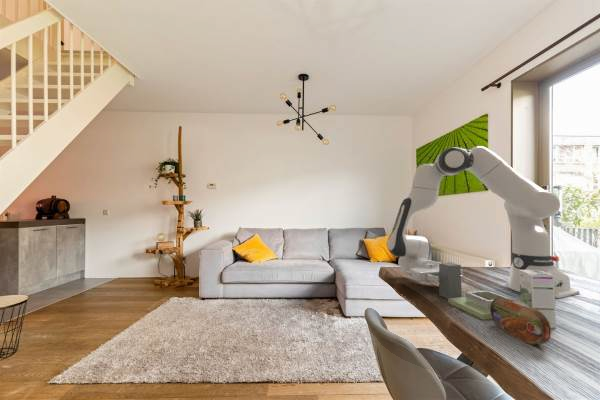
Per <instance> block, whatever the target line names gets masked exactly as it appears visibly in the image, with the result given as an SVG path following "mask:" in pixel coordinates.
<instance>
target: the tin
mask: <svg viewBox="0 0 600 400" xmlns="http://www.w3.org/2000/svg"><path fill="white" fill-rule="evenodd" d="M511 299H512V298H510V299H506V298H496V299H494V300H493V301H492V303H491V307H490V312H491V316H492V319H491V320H492V321H493V322H494V324H495V325H496V326H497V328H499V329H500V330H502V331H503V332H505V333H507V334H509V335H511V336H512V337H515V338H517V339H518V340H520V341H521V342H524V343H525V344H529V345H543V344H546V343H548V342H549V341H550V338H551V333H552V332H551V331H552V330H551V328H550V324H549V322H548V320H547V318H546V317H545V316H544V315H543V314H542V313H541V312H540V311H538V310H537V309H534V308H532V307H529V306H526V305H524V304H521V302H519V301H516V300H514V299H512V300H511Z"/></svg>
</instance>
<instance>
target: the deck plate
mask: <svg viewBox="0 0 600 400" xmlns="http://www.w3.org/2000/svg"><path fill="white" fill-rule="evenodd" d="M496 298H506V299H511V300H513V299H512V298H509V297H507V296H505V295H501V294H499V293H495V292H493V291H490V290H477V291H466V292H465V296H462V297H458V298H448V299H447V303H448V304H450V305H452V306H454V307H456V308H459V309H460V310H463V311H465V312H466V313H469V314H471V315H472V316H475V317H477V318H479V319H481V320H483V321H484V320H493V319H492V316H491V312H490V307H491V303H492V301H493V300H494V299H496Z"/></svg>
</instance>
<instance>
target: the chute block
mask: <svg viewBox="0 0 600 400" xmlns="http://www.w3.org/2000/svg"><path fill="white" fill-rule="evenodd" d="M461 269H462V265H461V264H458V263H455V262H446V263H439V277H440V278H441V279H440V280H441V282H438V285H439V286H438V288H439V292H438V293H439V296H440V295H441V296H440V297H442V296H443V297H442V298H444V299H447V300H448V298H458V297H463V296H462V293H463V292H462V280H461Z"/></svg>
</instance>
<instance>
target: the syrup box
mask: <svg viewBox="0 0 600 400" xmlns="http://www.w3.org/2000/svg"><path fill="white" fill-rule="evenodd" d="M519 276H520V292H519V296H520V297H519V298H520V300H519V301H520V302H519V303H521V304H524V305H526V306H529V307H532V308H534V309H537V310H538V311H540V312H541V313H542V314H543V315H544V316H545V317H546V318H547V320H548V322H549V324H550V329H557V314H556V298H555V291H554V275H551V274H549V273H546V272H543V271H540V270H519Z"/></svg>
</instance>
